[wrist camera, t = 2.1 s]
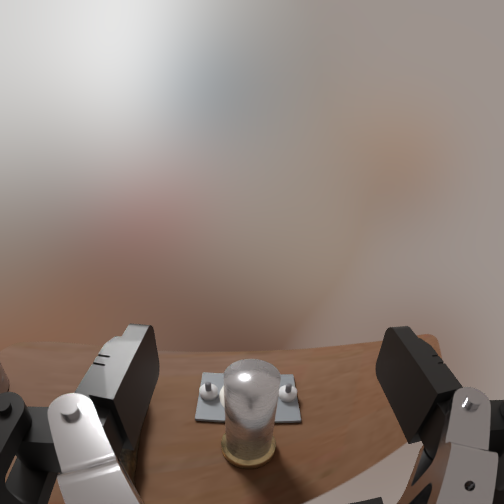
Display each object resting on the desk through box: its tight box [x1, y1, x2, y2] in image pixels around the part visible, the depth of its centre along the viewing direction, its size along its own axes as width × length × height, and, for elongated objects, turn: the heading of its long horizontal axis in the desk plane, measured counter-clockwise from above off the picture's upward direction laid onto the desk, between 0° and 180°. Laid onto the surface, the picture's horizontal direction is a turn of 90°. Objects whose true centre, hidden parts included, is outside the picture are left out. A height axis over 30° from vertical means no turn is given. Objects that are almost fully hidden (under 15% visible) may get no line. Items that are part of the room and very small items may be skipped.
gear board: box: [195, 372, 301, 423], centre depth 37 cm, size 13×9×2 cm
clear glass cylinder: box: [221, 359, 281, 469], centre depth 27 cm, size 6×6×12 cm
